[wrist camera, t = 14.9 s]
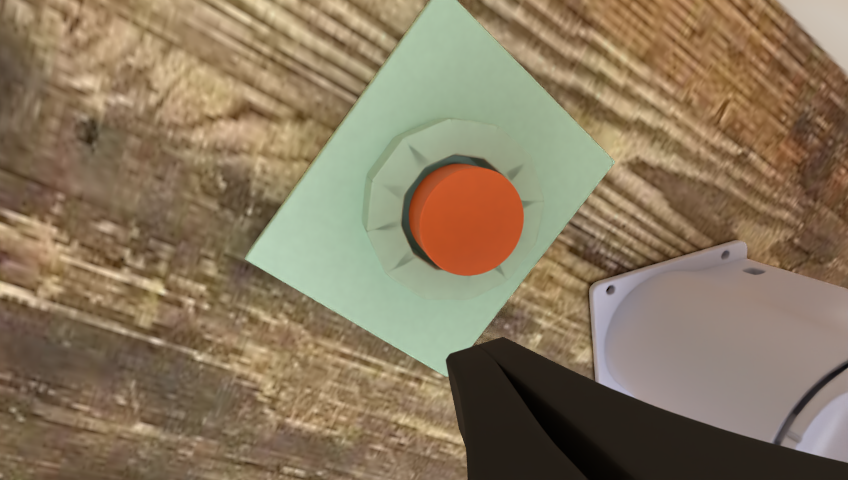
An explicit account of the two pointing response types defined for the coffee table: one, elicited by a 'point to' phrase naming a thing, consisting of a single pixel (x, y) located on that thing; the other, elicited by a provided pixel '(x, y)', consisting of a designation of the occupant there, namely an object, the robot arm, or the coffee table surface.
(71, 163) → the coffee table surface
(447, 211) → the button
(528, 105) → the block
